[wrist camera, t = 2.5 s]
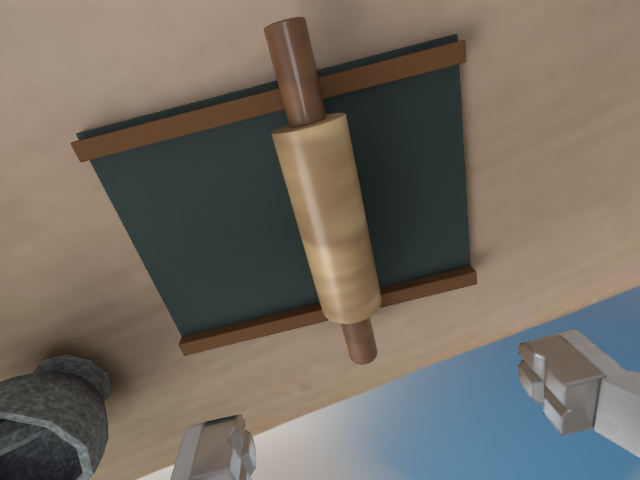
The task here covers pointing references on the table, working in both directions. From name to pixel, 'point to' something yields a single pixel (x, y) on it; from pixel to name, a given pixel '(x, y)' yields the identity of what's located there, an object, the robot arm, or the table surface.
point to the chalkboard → (273, 198)
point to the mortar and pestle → (54, 421)
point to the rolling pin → (324, 191)
